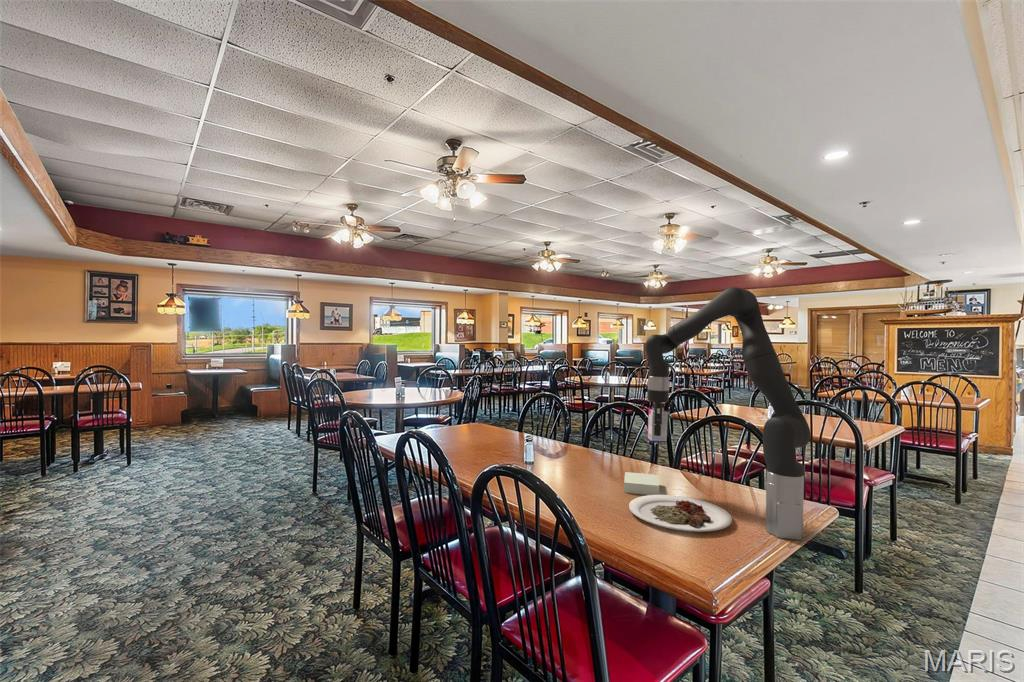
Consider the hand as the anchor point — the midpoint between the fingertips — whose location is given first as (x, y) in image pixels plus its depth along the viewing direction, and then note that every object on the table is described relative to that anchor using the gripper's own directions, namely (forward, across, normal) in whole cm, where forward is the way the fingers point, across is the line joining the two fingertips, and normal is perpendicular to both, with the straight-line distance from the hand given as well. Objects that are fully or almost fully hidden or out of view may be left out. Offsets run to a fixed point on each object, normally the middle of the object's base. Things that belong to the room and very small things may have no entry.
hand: (657, 433), depth 169 cm
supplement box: (+3, 0, 0) cm, 3 cm away
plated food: (+20, -26, -6) cm, 34 cm away
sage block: (+21, -2, +5) cm, 22 cm away
